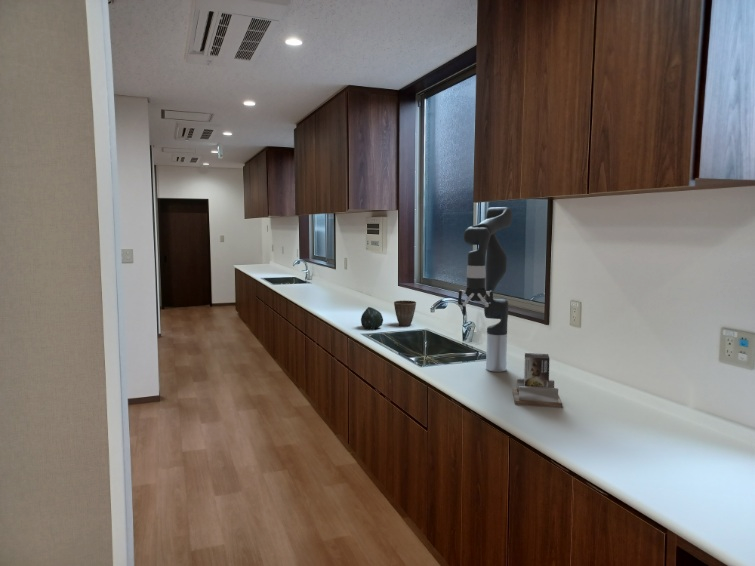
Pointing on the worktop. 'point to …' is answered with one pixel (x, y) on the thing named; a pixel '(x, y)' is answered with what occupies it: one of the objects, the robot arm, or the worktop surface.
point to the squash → (371, 318)
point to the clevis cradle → (536, 395)
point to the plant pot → (404, 312)
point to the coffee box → (536, 370)
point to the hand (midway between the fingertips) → (475, 315)
